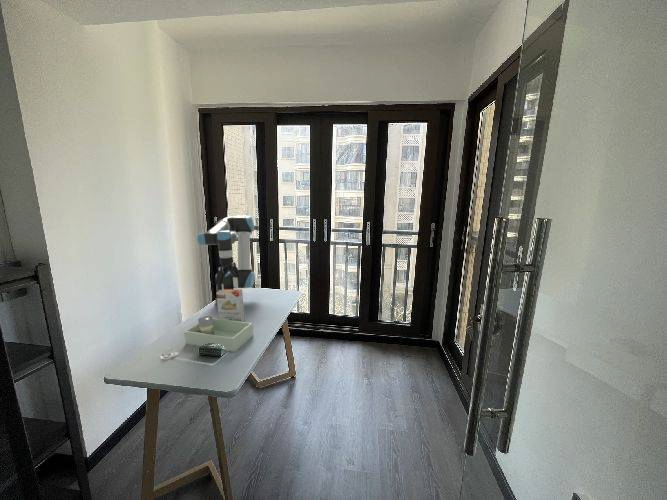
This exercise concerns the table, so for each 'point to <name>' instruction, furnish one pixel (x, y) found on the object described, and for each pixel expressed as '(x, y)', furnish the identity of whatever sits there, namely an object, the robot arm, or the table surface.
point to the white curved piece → (169, 353)
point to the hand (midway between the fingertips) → (229, 291)
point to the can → (206, 325)
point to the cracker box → (231, 305)
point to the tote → (221, 334)
